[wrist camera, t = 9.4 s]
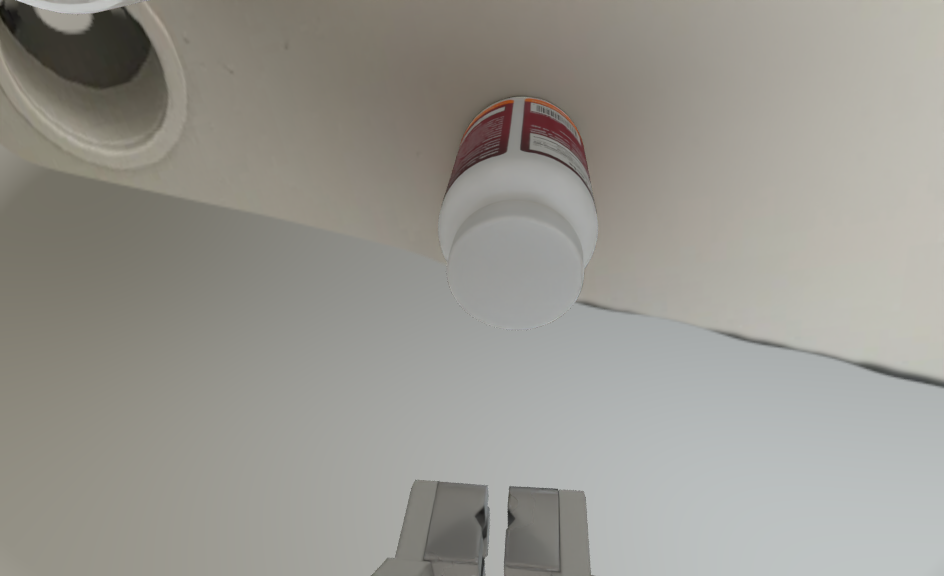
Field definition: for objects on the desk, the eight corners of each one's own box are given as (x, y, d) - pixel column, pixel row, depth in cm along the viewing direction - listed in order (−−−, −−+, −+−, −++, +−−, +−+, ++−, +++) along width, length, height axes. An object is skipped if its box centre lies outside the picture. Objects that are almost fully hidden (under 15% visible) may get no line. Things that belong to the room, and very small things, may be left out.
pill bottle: (469, 214, 29) (437, 350, 20) (451, 100, 26) (403, 202, 17) (585, 206, 28) (605, 345, 19) (583, 85, 25) (607, 186, 16)
